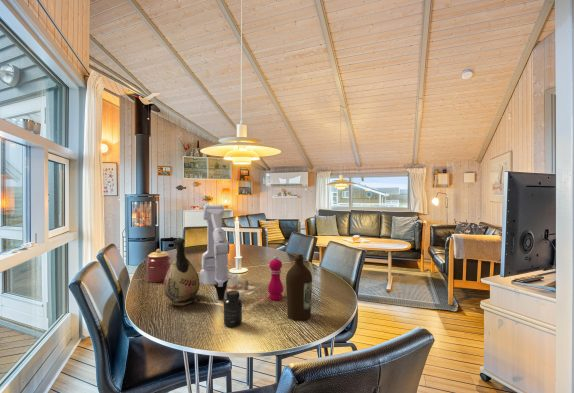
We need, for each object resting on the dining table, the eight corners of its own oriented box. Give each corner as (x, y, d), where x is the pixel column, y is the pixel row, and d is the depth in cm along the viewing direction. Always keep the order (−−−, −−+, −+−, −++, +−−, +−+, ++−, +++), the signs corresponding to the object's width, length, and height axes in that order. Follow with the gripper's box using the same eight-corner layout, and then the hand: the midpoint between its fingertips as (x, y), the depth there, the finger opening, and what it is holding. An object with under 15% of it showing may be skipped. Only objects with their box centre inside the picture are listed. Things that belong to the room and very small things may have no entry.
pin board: (213, 292, 147) (213, 280, 147) (227, 285, 159) (227, 274, 158) (249, 297, 140) (249, 285, 140) (260, 290, 151) (260, 278, 151)
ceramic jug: (163, 299, 138) (163, 235, 138) (197, 294, 144) (197, 233, 144) (163, 312, 123) (163, 240, 122) (202, 306, 129) (202, 238, 128)
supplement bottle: (224, 320, 115) (224, 289, 115) (242, 319, 116) (242, 289, 116) (222, 328, 108) (222, 295, 108) (241, 327, 109) (241, 295, 109)
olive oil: (281, 318, 117) (281, 255, 117) (293, 309, 126) (293, 250, 126) (305, 324, 112) (305, 258, 112) (316, 314, 121) (316, 253, 121)
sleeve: (215, 302, 133) (215, 289, 133) (216, 298, 138) (216, 286, 138) (226, 302, 134) (226, 289, 134) (227, 298, 139) (227, 285, 139)
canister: (159, 283, 162) (159, 251, 161) (140, 281, 166) (140, 250, 166) (175, 277, 174) (175, 247, 174) (157, 275, 178) (157, 246, 178)
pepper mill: (271, 302, 134) (271, 258, 134) (265, 297, 141) (265, 255, 141) (285, 299, 138) (286, 256, 138) (279, 294, 144) (279, 254, 144)
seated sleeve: (223, 288, 149) (223, 276, 149) (229, 285, 154) (229, 273, 154) (232, 289, 147) (232, 277, 147) (237, 286, 152) (237, 274, 152)
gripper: (229, 272, 130) (229, 302, 130) (231, 264, 144) (231, 291, 144) (213, 272, 129) (213, 303, 129) (216, 264, 143) (216, 292, 143)
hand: (221, 297), depth 136 cm, fingers closed on sleeve, 5 cm apart
